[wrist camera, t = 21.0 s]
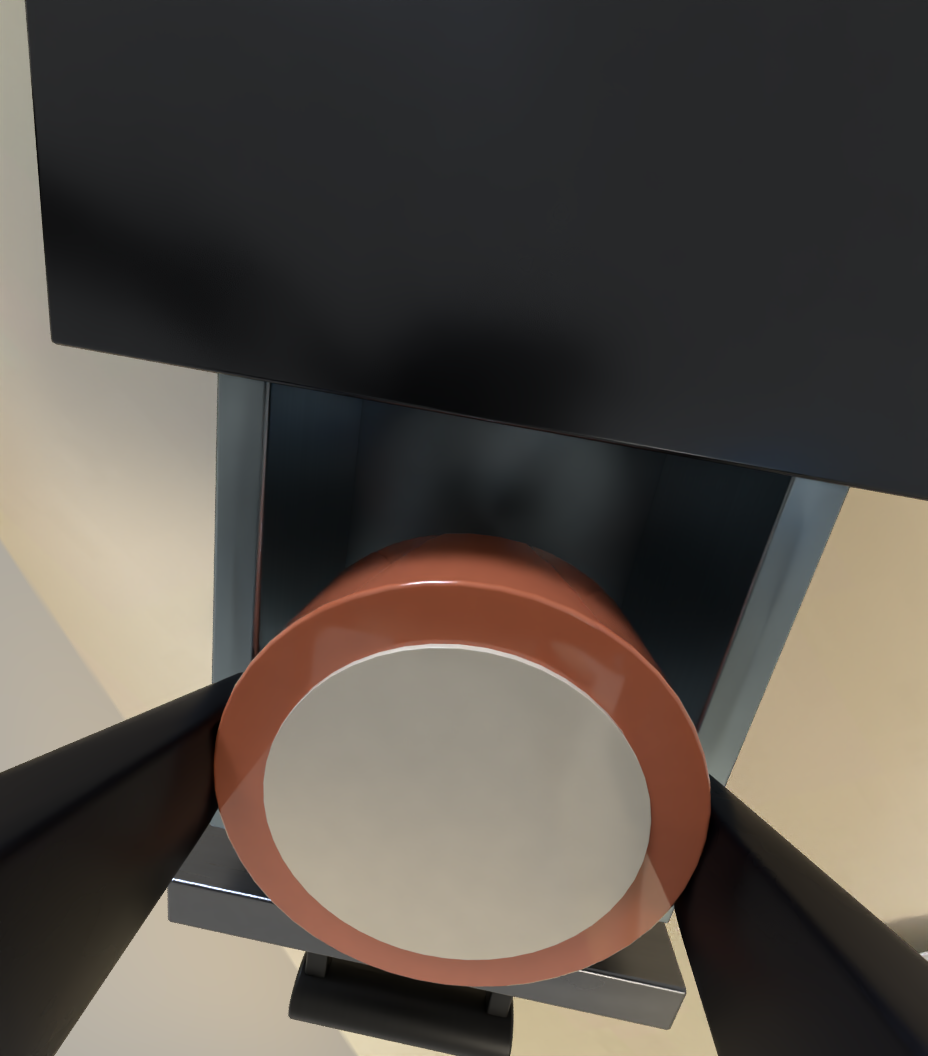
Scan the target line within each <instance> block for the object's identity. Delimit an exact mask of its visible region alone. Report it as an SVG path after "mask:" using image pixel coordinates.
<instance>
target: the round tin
mask: <svg viewBox="0 0 928 1056" xmlns="http://www.w3.org/2000/svg"><path fill="white" fill-rule="evenodd" d="M213 771H214V789H215V794H216V799H217V804H218V809H219V813H220V816H221V819H222V822H223V825H224V828H225V830H226V833H227V836H228V839H229V840H230V842H231V844H232V846H233V848H234V850H235V852H236V854H237V856H238V858H239V860H240V861H241V863H242V864H243V866H244V867H245V869H246V870H247V872H248V873H249V874H250V876H251V877H252V879H253V880H254V882H255V883H256V884H257V885H258V886H259V888H260V889H261V890H262V891H263V892H264V893H265V894H266V896H267V897H268V898H269V899H270V900H271V901H272V902H273V903H274V904H275V905H276V906H277V907H278V908H279V909H280V910H281V911H282V912H284V913H285V914H286V915H287V916H288V917H289V918H290V919H291V920H292V921H294V922H295V923H296V924H298V925H299V926H300V927H302V928H303V929H304V930H306V931H307V932H308V933H310V934H311V935H312V936H314V937H315V938H317V939H319V940H320V941H322V942H324V943H325V944H327V945H329V946H330V947H332V948H334V949H335V950H337V951H339V952H341V953H343V954H345V955H347V956H350V957H352V958H354V959H356V960H358V961H360V962H362V963H365V964H367V965H370V966H373V967H376V968H378V969H381V970H384V971H387V972H389V973H393V974H397V975H400V976H404V977H408V978H412V979H415V980H421V981H426V982H432V983H438V984H444V985H456V986H468V987H501V986H510V985H520V984H529V983H534V982H538V981H543V980H548V979H553V978H557V977H560V976H563V975H567V974H570V973H573V972H576V971H579V970H582V969H585V968H587V967H589V966H591V965H594V964H596V963H598V962H600V961H603V960H605V959H607V958H609V957H611V956H612V955H614V954H616V953H617V952H619V951H621V950H622V949H624V948H626V947H628V946H629V945H631V944H632V943H633V942H635V941H636V940H637V939H639V938H640V937H641V936H642V935H644V934H645V933H646V932H648V931H649V930H650V929H652V928H653V927H654V926H655V925H656V924H657V923H658V922H659V920H660V919H661V918H662V917H663V916H664V915H665V914H666V913H667V912H668V911H669V910H670V909H671V908H672V907H673V905H674V904H675V903H676V901H677V900H678V898H679V897H680V896H681V894H682V893H683V892H684V890H685V889H686V887H687V885H688V884H689V882H690V880H691V878H692V876H693V874H694V872H695V870H696V868H697V866H698V864H699V861H700V858H701V855H702V852H703V849H704V846H705V843H706V840H707V834H708V828H709V821H710V815H711V795H710V778H709V773H708V767H707V762H706V757H705V752H704V750H703V747H702V744H701V741H700V739H699V736H698V733H697V730H696V728H695V725H694V723H693V721H692V720H691V718H690V716H689V714H688V712H687V711H686V709H685V707H684V705H683V703H682V702H681V700H680V698H679V696H678V695H677V693H676V692H675V690H674V689H673V687H672V686H671V684H670V682H669V681H668V679H667V678H666V676H665V675H664V673H663V672H662V670H661V669H660V667H659V666H658V664H657V662H656V661H655V659H654V658H653V656H652V655H651V653H650V652H649V650H648V649H647V647H646V645H645V644H644V642H643V641H642V639H641V638H640V636H639V635H638V633H637V632H636V630H635V629H634V627H633V625H632V624H631V622H630V621H629V619H628V618H627V617H626V615H625V614H624V613H623V612H622V610H621V609H620V608H619V606H618V605H617V604H616V602H615V601H614V600H613V599H612V598H611V597H610V596H609V595H608V594H607V593H606V592H605V591H604V590H603V589H602V588H601V587H600V586H599V585H598V584H597V583H596V582H595V581H593V580H592V579H591V578H589V577H588V576H587V575H585V574H584V573H582V572H581V571H580V570H578V569H577V568H576V567H574V566H573V565H571V564H569V563H567V562H565V561H564V560H562V559H560V558H558V557H556V556H555V555H553V554H551V553H548V552H546V551H543V550H541V549H538V548H536V547H533V546H531V545H528V544H526V543H522V542H518V541H514V540H510V539H506V538H502V537H497V536H489V535H481V534H473V533H445V534H437V535H429V536H422V537H417V538H413V539H409V540H405V541H402V542H398V543H394V544H392V545H389V546H387V547H384V548H382V549H380V550H377V551H375V552H372V553H370V554H369V555H367V556H365V557H363V558H362V559H360V560H358V561H357V562H355V563H353V564H352V565H350V566H349V567H347V568H346V569H345V570H344V571H342V572H341V573H340V574H339V575H337V576H336V577H335V578H334V579H332V580H331V581H330V582H329V583H328V584H327V585H326V586H325V587H324V588H323V589H322V590H321V591H320V592H319V593H318V594H317V595H316V596H315V597H314V598H313V599H312V600H311V601H310V602H309V603H308V604H307V605H306V606H305V607H304V608H303V609H302V610H301V611H300V612H299V613H298V614H297V615H296V616H295V617H294V618H293V619H292V620H291V621H290V622H289V623H288V624H287V625H286V626H285V627H284V628H282V629H281V630H280V631H279V632H278V633H277V634H276V635H275V636H274V637H273V638H272V639H271V640H270V641H269V642H268V644H267V645H266V646H265V647H264V648H263V649H262V650H261V651H260V652H259V653H258V654H257V655H256V656H255V658H254V659H253V660H252V661H251V662H250V663H249V665H248V666H247V668H246V669H245V671H244V672H243V674H242V675H241V677H240V678H239V680H238V681H237V683H236V684H235V686H234V688H233V690H232V692H231V695H230V697H229V699H228V701H227V703H226V705H225V708H224V710H223V713H222V717H221V721H220V724H219V728H218V732H217V735H216V741H215V750H214V760H213Z"/></svg>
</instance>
